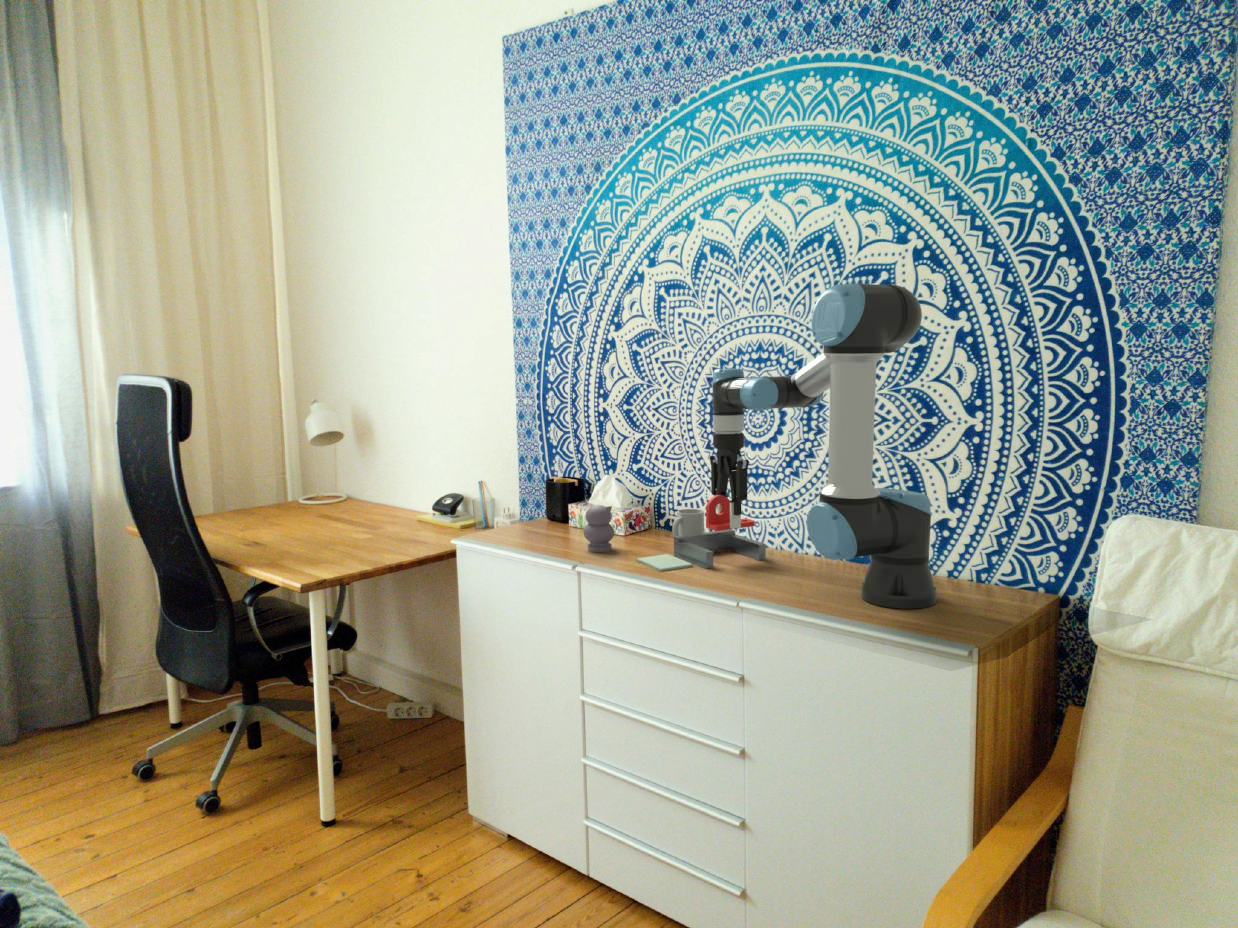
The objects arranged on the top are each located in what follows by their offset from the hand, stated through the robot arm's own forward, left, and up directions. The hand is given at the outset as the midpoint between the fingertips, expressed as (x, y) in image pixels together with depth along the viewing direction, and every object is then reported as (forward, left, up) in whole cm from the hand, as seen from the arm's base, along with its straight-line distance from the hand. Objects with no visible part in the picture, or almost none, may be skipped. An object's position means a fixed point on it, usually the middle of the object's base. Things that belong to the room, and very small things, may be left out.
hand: (729, 526), depth 217 cm
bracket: (0, -1, 0) cm, 1 cm away
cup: (+21, -1, -9) cm, 23 cm away
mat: (+6, +15, -9) cm, 19 cm away
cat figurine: (+28, +22, -9) cm, 37 cm away
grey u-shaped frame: (+7, 0, -9) cm, 11 cm away
